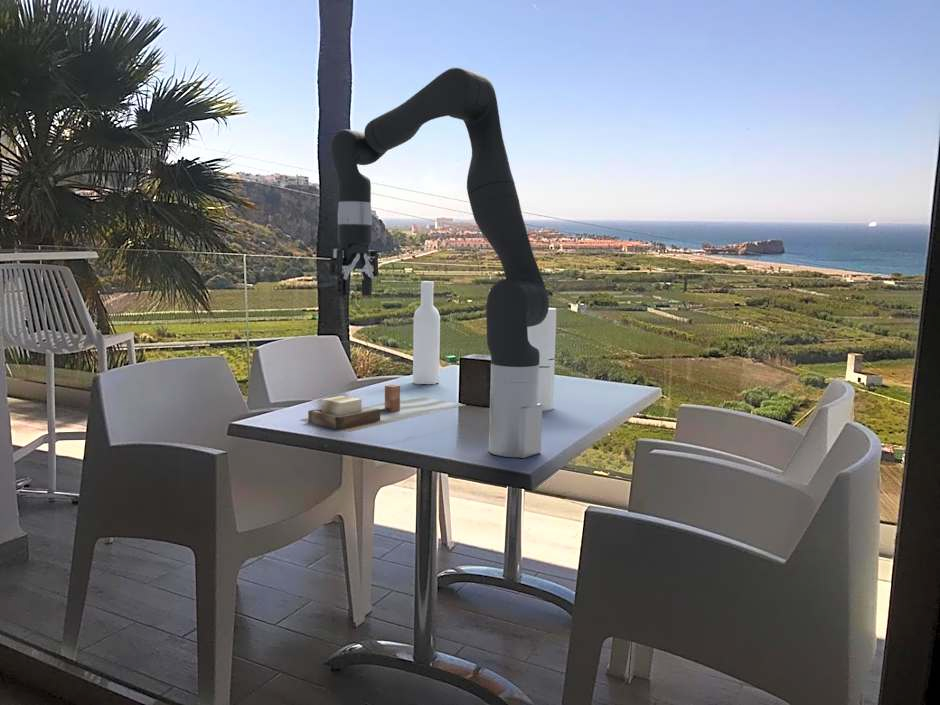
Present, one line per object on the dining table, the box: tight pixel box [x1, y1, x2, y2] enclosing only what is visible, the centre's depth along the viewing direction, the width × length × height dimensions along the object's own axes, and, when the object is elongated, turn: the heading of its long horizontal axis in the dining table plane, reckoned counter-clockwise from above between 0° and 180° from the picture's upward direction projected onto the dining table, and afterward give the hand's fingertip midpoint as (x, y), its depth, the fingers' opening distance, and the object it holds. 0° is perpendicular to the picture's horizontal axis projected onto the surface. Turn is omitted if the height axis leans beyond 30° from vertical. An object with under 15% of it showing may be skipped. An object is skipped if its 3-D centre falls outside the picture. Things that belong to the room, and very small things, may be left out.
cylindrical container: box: [527, 307, 557, 412], centre depth 186 cm, size 7×7×25 cm
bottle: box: [412, 280, 441, 385], centre depth 219 cm, size 8×8×30 cm
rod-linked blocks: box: [321, 384, 401, 416], centre depth 169 cm, size 6×20×6 cm, turn 142°
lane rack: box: [300, 396, 467, 432], centre depth 175 cm, size 16×39×3 cm, turn 142°
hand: (354, 296), depth 168 cm, fingers open, 8 cm apart
